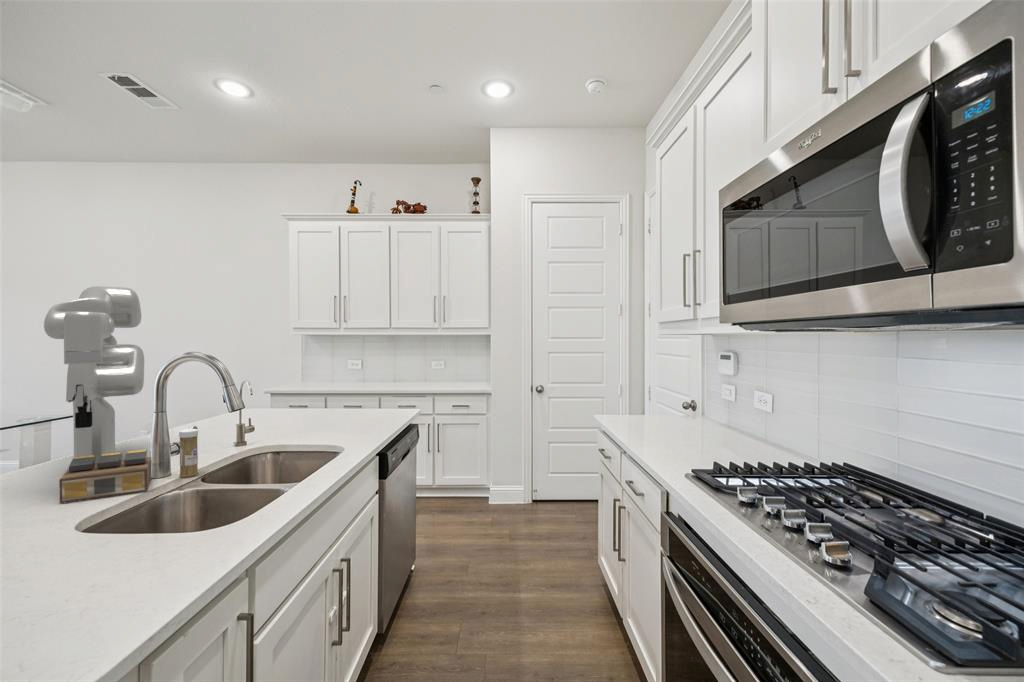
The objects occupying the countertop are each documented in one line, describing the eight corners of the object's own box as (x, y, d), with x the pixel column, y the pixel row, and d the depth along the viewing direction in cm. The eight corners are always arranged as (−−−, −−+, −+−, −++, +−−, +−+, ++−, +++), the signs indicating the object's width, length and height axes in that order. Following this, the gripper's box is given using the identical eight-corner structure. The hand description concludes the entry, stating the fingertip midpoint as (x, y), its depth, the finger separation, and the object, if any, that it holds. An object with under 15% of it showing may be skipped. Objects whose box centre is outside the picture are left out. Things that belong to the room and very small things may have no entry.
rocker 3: (127, 458, 133) (126, 451, 132) (147, 456, 135) (146, 449, 135) (124, 467, 128) (124, 459, 127) (145, 465, 130) (144, 457, 130)
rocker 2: (101, 461, 130) (101, 454, 129) (122, 459, 132) (121, 451, 132) (97, 470, 125) (97, 462, 124) (119, 468, 127) (118, 460, 127)
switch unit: (72, 488, 128) (72, 465, 128) (151, 477, 138) (151, 457, 138) (59, 504, 116) (58, 479, 116) (146, 491, 126) (146, 469, 125)
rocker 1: (74, 464, 127) (73, 456, 126) (96, 462, 129) (95, 454, 129) (69, 474, 122) (68, 466, 121) (91, 471, 124) (91, 463, 124)
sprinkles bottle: (193, 477, 138) (192, 431, 138) (176, 478, 138) (175, 431, 137) (201, 472, 143) (201, 428, 142) (184, 473, 142) (184, 428, 142)
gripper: (70, 357, 131) (71, 424, 131) (57, 359, 118) (57, 433, 118) (106, 356, 135) (106, 421, 135) (96, 358, 122) (97, 430, 123)
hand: (84, 427), depth 127 cm, fingers closed
